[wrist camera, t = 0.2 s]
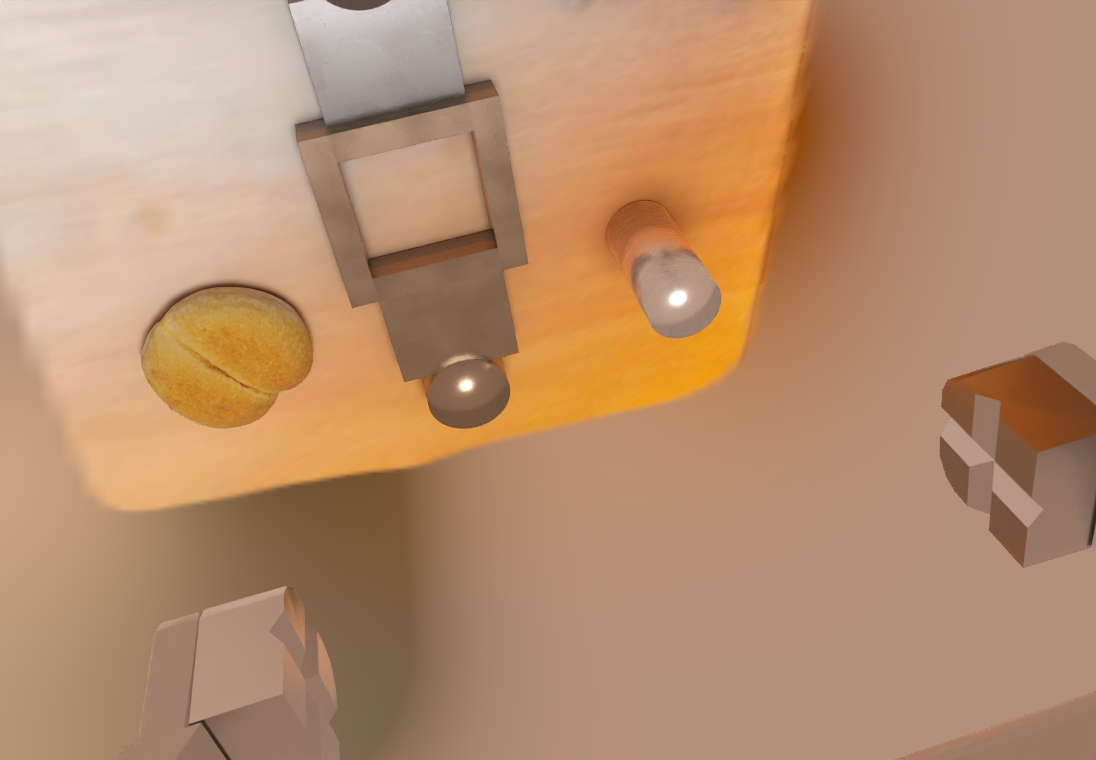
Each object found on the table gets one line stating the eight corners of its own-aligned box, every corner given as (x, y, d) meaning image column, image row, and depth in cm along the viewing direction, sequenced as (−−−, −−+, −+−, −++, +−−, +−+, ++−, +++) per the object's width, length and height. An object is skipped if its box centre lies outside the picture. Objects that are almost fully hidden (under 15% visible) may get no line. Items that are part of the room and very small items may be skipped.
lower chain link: (219, -103, 41) (218, -88, 39) (449, -150, 42) (459, -138, 40) (349, 287, 54) (352, 313, 52) (520, 245, 55) (530, 268, 53)
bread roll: (338, 333, 56) (343, 375, 53) (233, 422, 58) (233, 467, 55) (224, 249, 51) (223, 290, 48) (114, 349, 53) (107, 395, 50)
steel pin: (602, 209, 55) (646, 285, 49) (669, 192, 55) (720, 266, 49) (608, 266, 58) (651, 346, 52) (672, 250, 58) (721, 327, 52)
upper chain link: (295, 125, 48) (297, 147, 46) (490, 79, 49) (500, 99, 47) (393, 421, 61) (398, 447, 59) (545, 381, 62) (554, 406, 60)
